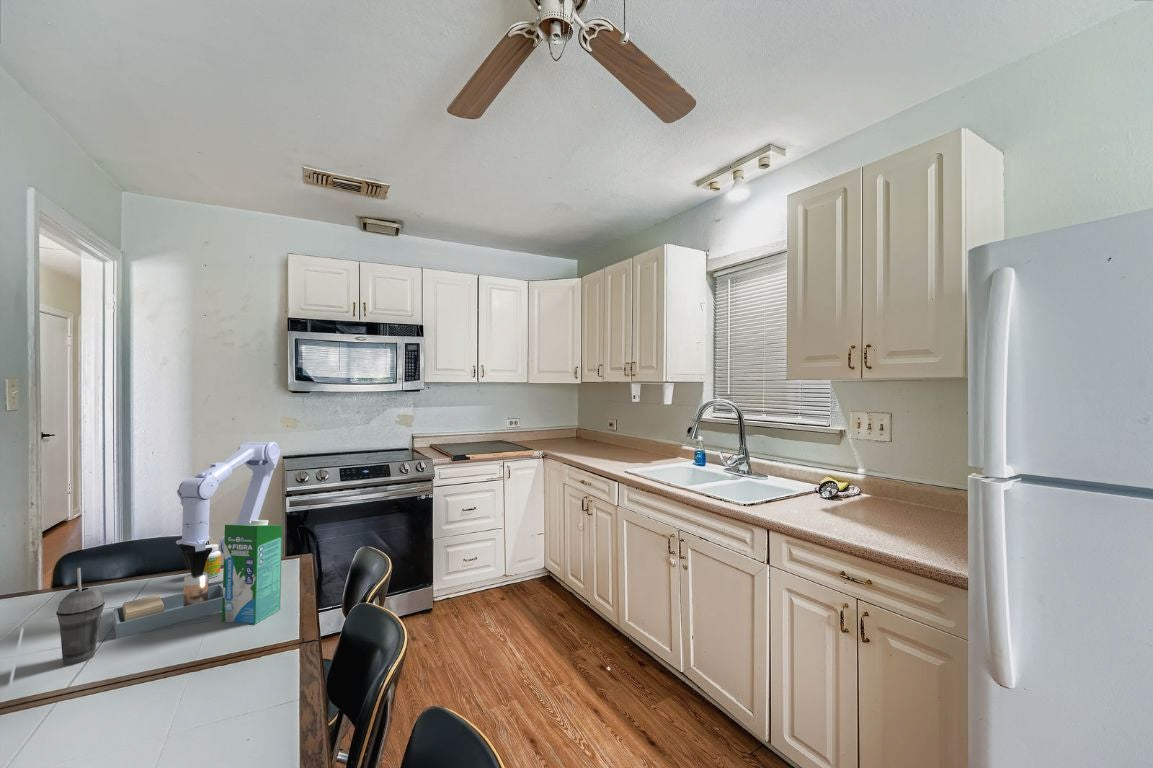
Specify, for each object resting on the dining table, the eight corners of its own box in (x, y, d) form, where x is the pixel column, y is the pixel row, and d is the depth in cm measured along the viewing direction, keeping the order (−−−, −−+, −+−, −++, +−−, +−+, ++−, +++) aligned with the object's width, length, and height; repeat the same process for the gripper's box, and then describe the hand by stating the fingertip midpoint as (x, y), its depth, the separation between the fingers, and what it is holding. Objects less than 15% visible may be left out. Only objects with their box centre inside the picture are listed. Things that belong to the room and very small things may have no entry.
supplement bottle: (206, 580, 146) (207, 549, 146) (194, 578, 148) (195, 547, 148) (224, 574, 151) (225, 544, 152) (212, 572, 153) (213, 542, 153)
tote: (221, 597, 133) (221, 583, 133) (230, 610, 125) (231, 595, 125) (113, 624, 117) (113, 608, 117) (116, 641, 109) (116, 624, 109)
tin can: (206, 603, 128) (207, 570, 128) (208, 609, 124) (209, 575, 125) (181, 609, 124) (183, 575, 125) (184, 615, 121) (185, 580, 121)
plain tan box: (159, 613, 122) (159, 594, 122) (163, 624, 116) (164, 604, 116) (121, 622, 117) (122, 602, 117) (124, 634, 111) (125, 613, 111)
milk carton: (280, 609, 126) (282, 516, 127) (254, 625, 117) (257, 525, 118) (249, 607, 127) (252, 515, 128) (221, 623, 118) (224, 524, 119)
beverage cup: (70, 673, 96) (74, 575, 97) (44, 669, 98) (48, 573, 98) (111, 654, 103) (115, 563, 104) (86, 651, 105) (90, 561, 105)
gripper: (172, 519, 129) (171, 569, 128) (181, 529, 119) (179, 583, 119) (204, 515, 134) (203, 562, 134) (215, 524, 124) (214, 575, 124)
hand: (194, 572), depth 126 cm, fingers open, 7 cm apart
